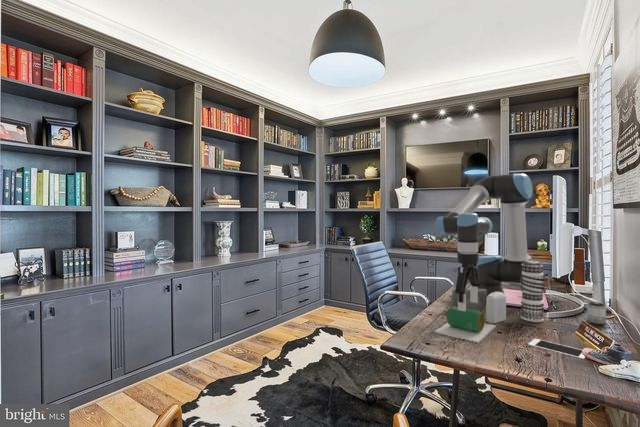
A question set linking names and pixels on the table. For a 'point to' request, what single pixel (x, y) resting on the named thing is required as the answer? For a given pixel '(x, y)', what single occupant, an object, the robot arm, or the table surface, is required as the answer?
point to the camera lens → (596, 312)
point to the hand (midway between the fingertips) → (468, 306)
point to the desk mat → (465, 332)
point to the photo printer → (496, 307)
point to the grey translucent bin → (469, 305)
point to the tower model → (532, 291)
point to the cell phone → (557, 348)
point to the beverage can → (465, 319)
